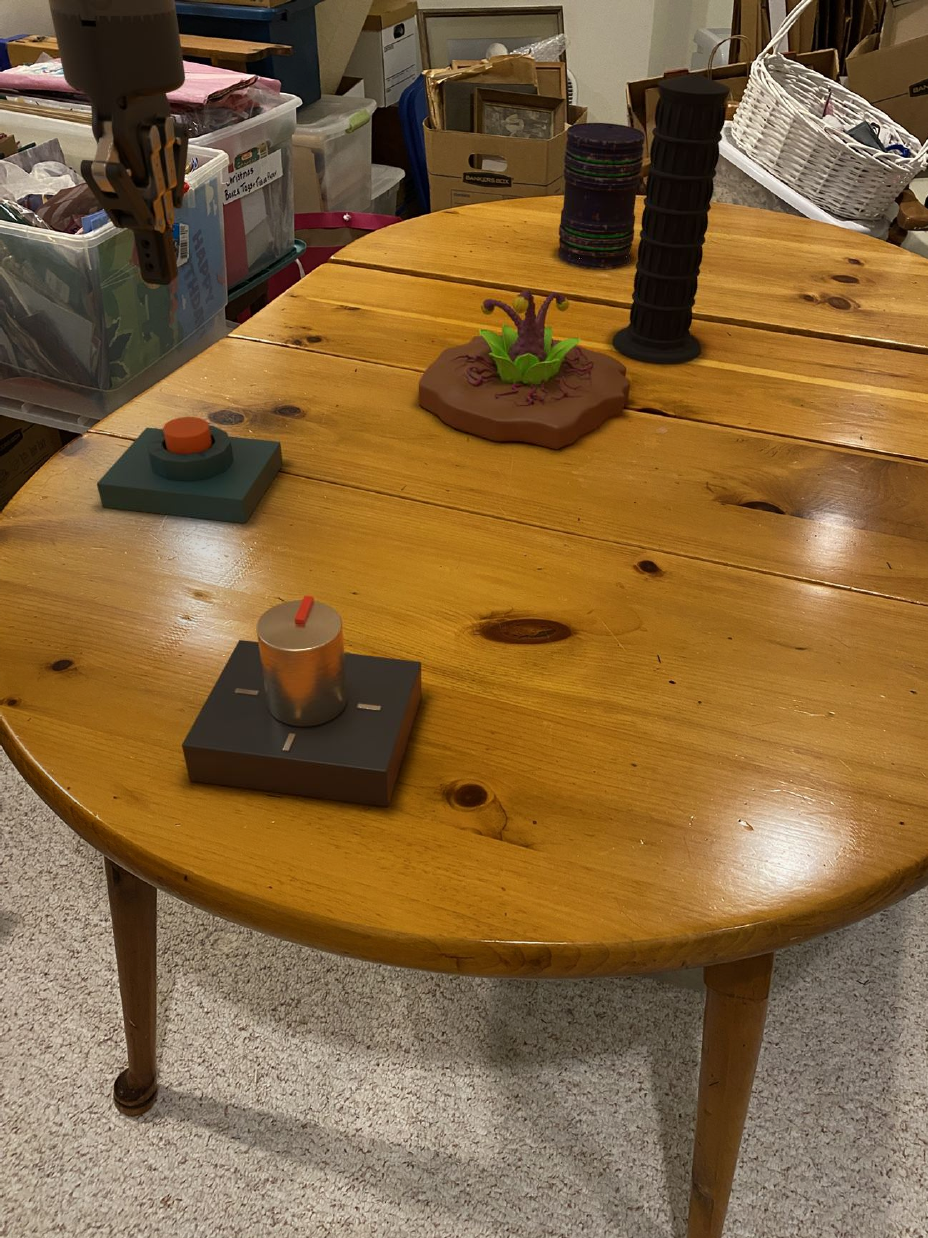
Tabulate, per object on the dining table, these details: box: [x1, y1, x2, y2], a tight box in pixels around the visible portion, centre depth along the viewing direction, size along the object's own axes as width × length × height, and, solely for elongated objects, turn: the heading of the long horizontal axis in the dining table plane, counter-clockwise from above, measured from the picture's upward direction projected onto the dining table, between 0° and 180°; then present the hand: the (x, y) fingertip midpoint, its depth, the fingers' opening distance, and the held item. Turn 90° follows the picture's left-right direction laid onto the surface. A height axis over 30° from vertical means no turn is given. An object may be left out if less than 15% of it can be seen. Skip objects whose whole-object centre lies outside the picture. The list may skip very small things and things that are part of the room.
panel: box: [181, 639, 422, 808], centre depth 63 cm, size 12×10×3 cm
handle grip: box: [611, 73, 731, 365], centre depth 105 cm, size 10×26×10 cm
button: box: [162, 416, 212, 455], centre depth 83 cm, size 4×4×2 cm
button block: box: [96, 424, 284, 524], centre depth 85 cm, size 12×10×4 cm
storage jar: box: [557, 122, 646, 270], centre depth 131 cm, size 10×10×15 cm
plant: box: [418, 289, 631, 450], centre depth 98 cm, size 20×20×11 cm
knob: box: [255, 595, 348, 727], centre depth 60 cm, size 5×5×6 cm
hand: (160, 280), depth 75 cm, fingers closed
